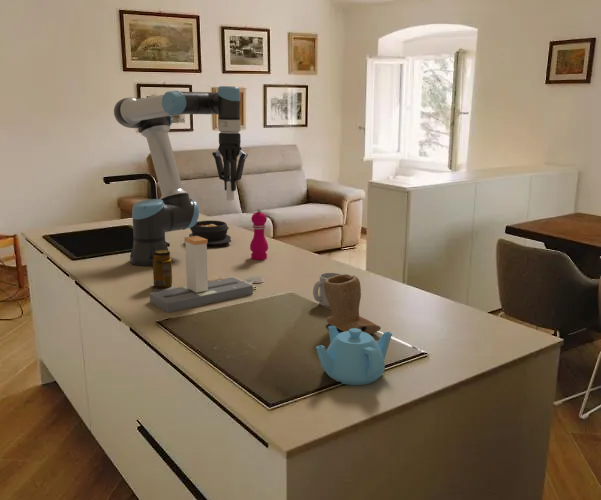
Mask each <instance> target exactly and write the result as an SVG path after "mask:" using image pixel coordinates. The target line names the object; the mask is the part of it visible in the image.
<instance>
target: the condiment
mask: <svg viewBox="0 0 601 500" xmlns="http://www.w3.org/2000/svg"><path fill="white" fill-rule="evenodd" d="M172 270H173V269H172V259H171V252H170V251H169V249H168V250H157V251H155V252H154V259H153V266H152V274H153V275H152V278H153V283H152V282H151V283H150V286H151V288H152V290H153V292H158V291H164V290H169V289H174V288H176V286H175V285H174V283H173V271H172Z"/></svg>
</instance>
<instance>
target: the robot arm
mask: <svg viewBox="0 0 601 500" xmlns="http://www.w3.org/2000/svg"><path fill="white" fill-rule="evenodd" d="M241 100H242V99H241V91H240V88H239V86H233V85H231V86H230V85H228V86H227V85H226V86H225V85H223V86H222V85H221V86H218V87H217V92H213V91H212V92H210V91H209V92H208V91H179V90H169V91H166V92H164V94H160V95H154V96H147V97H124V98H122V99H120V100H118V101H117V102H116V103H115V105H114V108H113V114H114V115H113V116H114V118H115V120H116V121H117V122H118V123H119V124H120V125H121V126H123V127H125V128H127V129H139V131H140V133H141V136H142V137H144V138H146V140H147V144H148V149H149V152H150V157H151V159H152V163H153V167H154V171H155V174H156V178H157V181H158V186H159V189H160V193H161V196H160V198H151V199H144V200H140V201H138V202H136V203H134V204H133V206H132V209H131V210H132V212H131V213H132V214H131V218H132V230H133V231H132V232H133V233H132V234H133V245H132V248H131V252H130V256H129V262H130V264H132V265H134V266H138V267H139V266H141V267H153V259H154V252H155V251H157V250H168V251H169V247H168V245H167V243H166V236H165V234H166V233H170V232H175V231H181V230H182V231H184V230H187V229H190V228H191V227H193V226H194V225H195V224H196V223H197V222H198V220H199V216H200V210H199V209H200V208H199V204H198V203H197V201H196V200H195V199H193V198H190V194H189V193H188V192H187V191H185V189H184V188H183V184H182V180H181V178H180V174H179V170H178V166H177V162H176V158H175V156H174V151H173V148H172V144H171V141H170V140H171V139H170V136H169V132H170V130H171V125H172V124H173V121H174V119H173V118H174V116H180V115H218V117H217V118H218V131H219V132H220V133H218V143H219V146H218V147H217V150H216V151H213V152H212V153H211V154H212V156H213V158H214V160H215V165H216V169H217V174H218V177H219V180H222V181H223V182H224V184H223V185H224V191H226V201H229V202H230V201H234V200H235V191H236V190H237V182H238V181H240V180H242V175H243V171H244V167H245V161H246V159H247V158H248V155H249V154H248V153H246V152H244V151H243V150H242V147H241V143H242V142H241V133H240V132H241V130H242V129H241ZM238 157H239V158H238Z"/></svg>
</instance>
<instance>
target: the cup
mask: <svg viewBox="0 0 601 500" xmlns="http://www.w3.org/2000/svg"><path fill="white" fill-rule="evenodd" d="M336 275H343V274H341V273H339V272H322V273H321V274H320V275H319V280H318V281H316V282H315V283H314V285H313V289H312V295H313V298H314V300H315V301H316V302H319V304H320V305H321V306H322V307H328V308H331V307H330V305H329V302H328V300H327V298H326V295H325V291H324V282H325V280H326V279H327V278H329V277H333V276H336Z"/></svg>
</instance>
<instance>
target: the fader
mask: <svg viewBox="0 0 601 500" xmlns="http://www.w3.org/2000/svg"><path fill="white" fill-rule="evenodd" d="M184 242H185V244H184V245H185V271H186V272H185V273H186V274H185V275H186V286H187V288H188V289H190V290H192V291H194V292H196V293H197V292H202V291H207V290H208V282H209V280H208V249H207V248H208V245H207V243H208V239H205V238H202V237H199V236H192V237H189V236H185V237H184Z"/></svg>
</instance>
